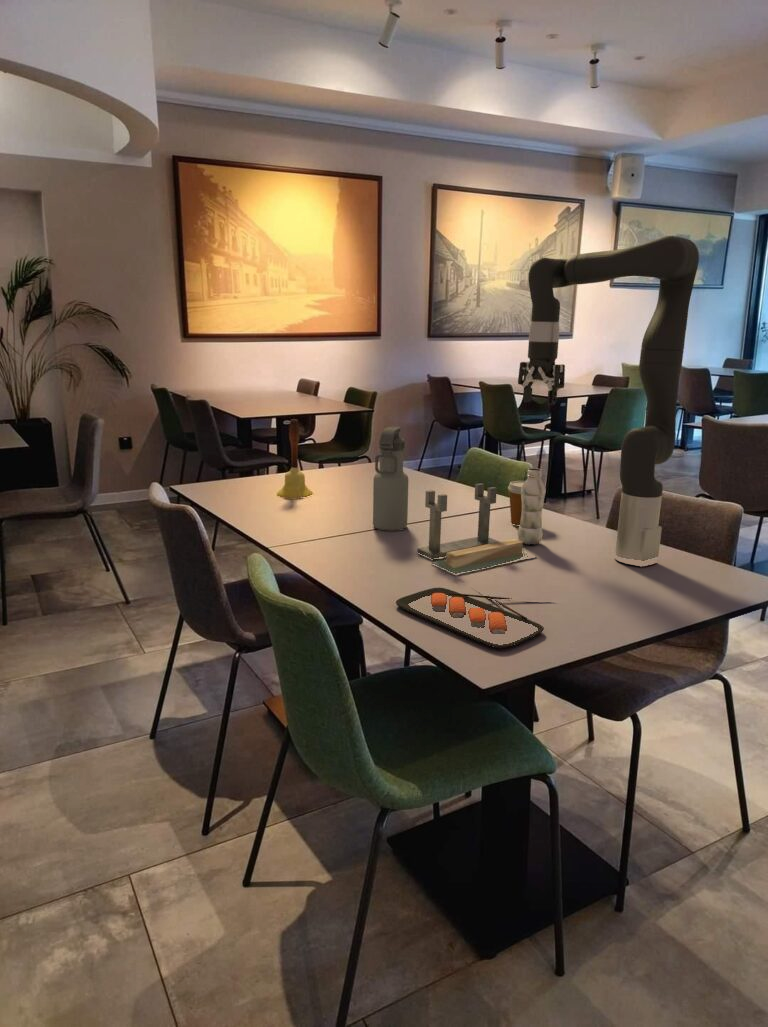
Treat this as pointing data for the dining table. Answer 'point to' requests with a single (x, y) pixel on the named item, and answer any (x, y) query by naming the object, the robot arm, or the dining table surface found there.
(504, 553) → the beech rail
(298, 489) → the handbell
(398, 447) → the water bottle
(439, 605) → the sushi plate
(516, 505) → the disposable coffee cup
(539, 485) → the plastic bottle
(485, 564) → the rubber mat
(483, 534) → the rail stand
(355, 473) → the dining table surface
